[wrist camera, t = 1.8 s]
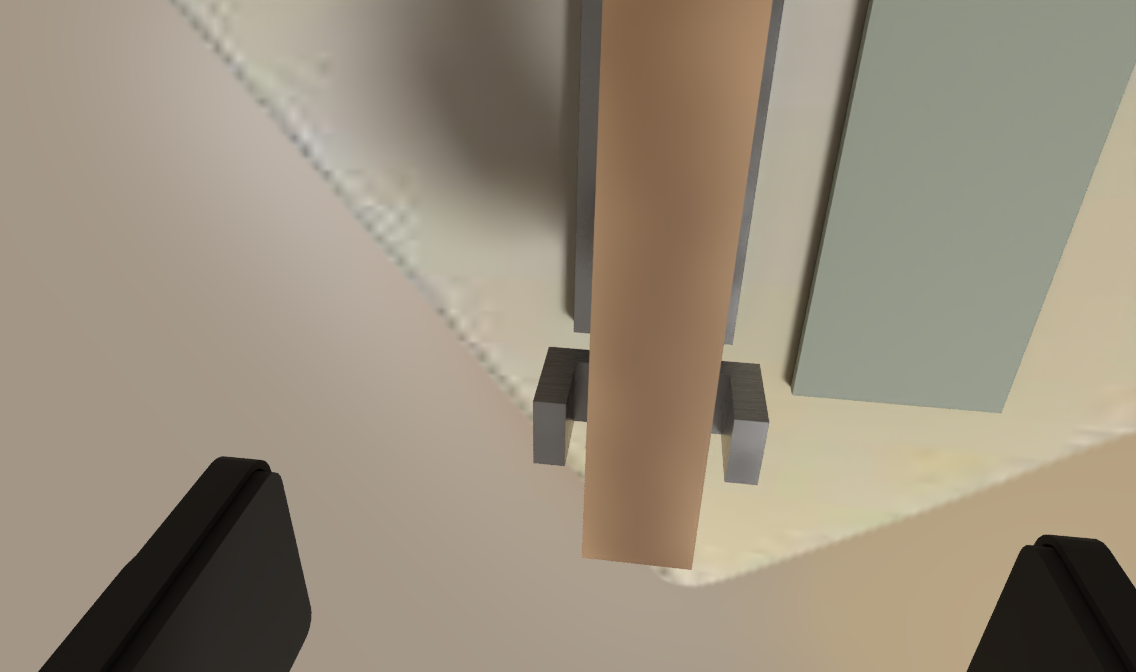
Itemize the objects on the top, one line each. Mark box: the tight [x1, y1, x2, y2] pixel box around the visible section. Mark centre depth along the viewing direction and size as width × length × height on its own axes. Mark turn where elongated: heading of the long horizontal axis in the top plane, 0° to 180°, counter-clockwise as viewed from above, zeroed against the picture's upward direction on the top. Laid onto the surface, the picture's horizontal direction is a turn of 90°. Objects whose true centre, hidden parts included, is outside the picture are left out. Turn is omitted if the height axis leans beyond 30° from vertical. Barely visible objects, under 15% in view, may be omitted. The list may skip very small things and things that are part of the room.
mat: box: [791, 0, 1136, 413], centre depth 28 cm, size 9×24×1 cm, turn 179°
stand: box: [533, 0, 784, 485], centre depth 24 cm, size 7×19×11 cm, turn 179°
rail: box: [582, 0, 773, 570], centre depth 20 cm, size 4×22×4 cm, turn 179°
